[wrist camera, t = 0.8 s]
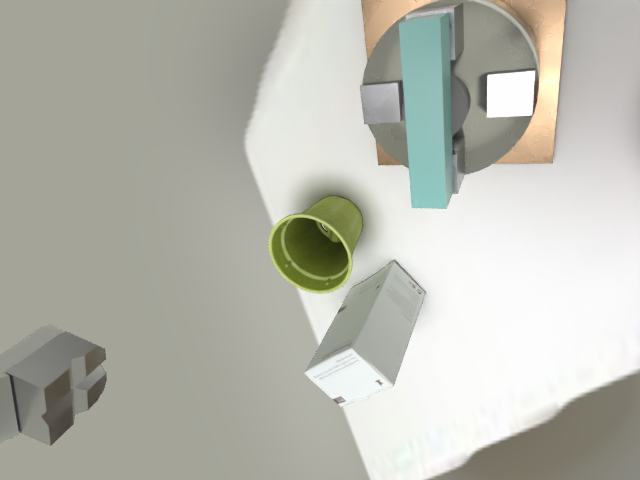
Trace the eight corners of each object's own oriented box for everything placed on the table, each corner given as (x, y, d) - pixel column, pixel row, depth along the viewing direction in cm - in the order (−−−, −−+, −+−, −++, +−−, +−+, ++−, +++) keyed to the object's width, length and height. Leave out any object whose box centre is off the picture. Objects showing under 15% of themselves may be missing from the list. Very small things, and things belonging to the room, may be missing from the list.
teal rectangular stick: (470, 6, 29) (458, 14, 25) (470, 180, 35) (461, 209, 31) (402, 16, 31) (382, 25, 27) (413, 180, 37) (398, 207, 33)
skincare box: (394, 258, 53) (352, 343, 42) (429, 294, 54) (397, 387, 42) (348, 289, 58) (299, 372, 47) (380, 322, 59) (340, 412, 47)
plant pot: (287, 204, 56) (252, 239, 49) (344, 166, 50) (312, 199, 43) (333, 263, 57) (305, 304, 50) (392, 232, 52) (369, 274, 45)
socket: (569, -48, 34) (578, -49, 24) (552, 158, 41) (554, 218, 32) (364, -11, 40) (309, 0, 31) (381, 161, 48) (341, 211, 38)
